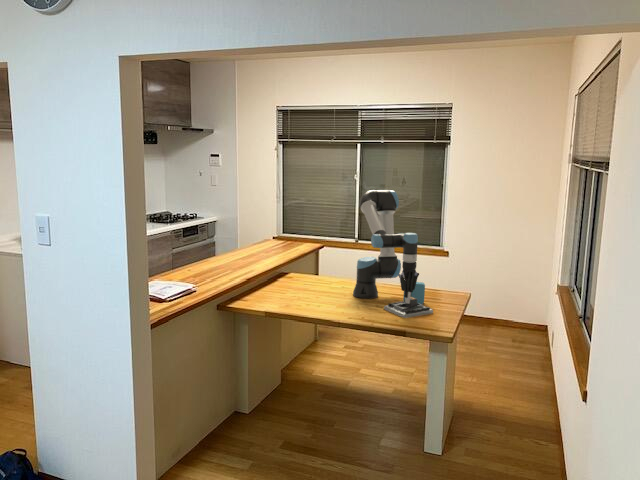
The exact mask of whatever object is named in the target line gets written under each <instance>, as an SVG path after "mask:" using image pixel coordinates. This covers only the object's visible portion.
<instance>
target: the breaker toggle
mask: <svg viewBox="0 0 640 480" xmlns="http://www.w3.org/2000/svg"><path fill="white" fill-rule="evenodd" d="M405 306H406V307H411V306H417V299H416V298H413V297H410V303H409V304H407V303H406V305H405Z"/></svg>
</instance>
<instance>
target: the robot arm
mask: <svg viewBox="0 0 640 480" xmlns="http://www.w3.org/2000/svg"><path fill="white" fill-rule="evenodd" d="M399 205H400V199H399V196H398V193H397V192H396V191H395V190H391V189H376V190H375V189H371V190H367V191H366V192H365V193H363V194H362V195H361V197H360V198H359V208H360V211H361V212H362V213H363V215H364V217H365V219H366V222H367V224H368V226H369V230H370V232H371V234H372V235H371V238H370V242H371V247H373V248H376V249H379V250H380V254H379V255H378V256H377V257H375V256H364V257H361V258H359V259H358V260H357V263H356V283H355V286H354V289H353V292H352V296H353V297H355V298H359V299H366V300H368V299H369V300H370V299H376V298H378V296H379V291H378V288H377V284H376V282H377V281H376V280H377V279H394V278H395V279H396V278H397V277H399V283H400V288H401V291H403V297H405V303H407V304H409V303H410V297H411V292H413V291H412V290H415V286H416V282H418V281H417V280H418V277H419V275H420V273H419V272H417V271H416V269H417V260H418V258H417V257H418V244H419V243H418V242H419V239H418V238H419V237H418V234H417V233H415V232H405V233H404V232H400V233H399V232H398V233H395V231H394V230H395V229H394V225H395V223H394V214H395V213H397V212H396V210H397V209H398V208H399ZM395 248H401V249H402V251H403V252H402V262H401V260H400V259H399V258H398V255H397V254H396V253H395ZM401 269H402V272H401ZM404 292H405V293H404Z"/></svg>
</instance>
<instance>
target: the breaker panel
mask: <svg viewBox="0 0 640 480" xmlns="http://www.w3.org/2000/svg"><path fill="white" fill-rule="evenodd" d="M405 305H406V303H405V301H403V300H402V301H396V302H390V303H388V304H387V305H384V306H383V310H385V311H386V312H389V313H392V314H394V315H396V316H398V317H400V318H402V319H408V318H413V317H419V316H420V317H421V316H425V315H426V316H427V315H430V314H433V313H434V309H432V308H431V307H430V306H425V305H424V304H419V303H417V306H411V307H406V306H405Z"/></svg>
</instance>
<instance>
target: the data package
mask: <svg viewBox="0 0 640 480" xmlns="http://www.w3.org/2000/svg"><path fill="white" fill-rule="evenodd" d="M412 291H413V292H411V297H413V298H416V299H417V303H419V304H422V305H424V303H425V293H426V284H425V282H423V281H422V282H419V281H417V282H416V286H415V290H412ZM404 293H405V292H404V291H403V294H404ZM402 299H403V300H402V301H405V297H404V296H403V298H402Z"/></svg>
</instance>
